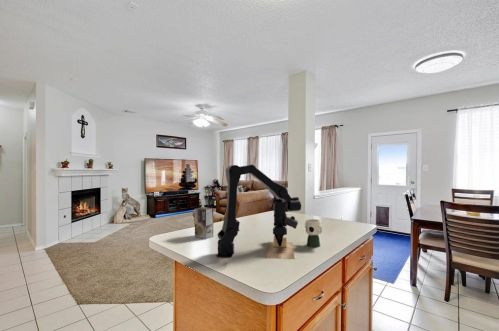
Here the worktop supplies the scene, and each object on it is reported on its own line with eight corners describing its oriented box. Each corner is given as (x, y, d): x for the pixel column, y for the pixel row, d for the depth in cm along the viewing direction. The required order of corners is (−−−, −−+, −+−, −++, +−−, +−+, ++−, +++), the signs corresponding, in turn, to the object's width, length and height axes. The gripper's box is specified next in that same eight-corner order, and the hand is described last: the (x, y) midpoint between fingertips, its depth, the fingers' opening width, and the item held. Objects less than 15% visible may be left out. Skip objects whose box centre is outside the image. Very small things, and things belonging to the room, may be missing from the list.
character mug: (300, 245, 112) (299, 219, 113) (310, 243, 116) (310, 217, 116) (316, 252, 103) (316, 223, 103) (327, 249, 106) (327, 221, 107)
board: (265, 260, 94) (265, 257, 94) (268, 243, 115) (268, 241, 115) (294, 261, 92) (294, 259, 92) (292, 244, 114) (292, 242, 114)
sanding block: (273, 246, 107) (273, 238, 107) (274, 244, 111) (273, 235, 111) (286, 247, 106) (286, 238, 106) (286, 244, 110) (286, 236, 110)
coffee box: (213, 236, 129) (213, 208, 129) (206, 239, 123) (206, 209, 124) (202, 234, 133) (202, 206, 134) (194, 236, 128) (194, 208, 129)
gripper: (298, 216, 99) (298, 252, 98) (295, 209, 117) (295, 239, 117) (272, 215, 100) (272, 251, 100) (274, 208, 119) (274, 238, 118)
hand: (280, 244), depth 109 cm, fingers closed on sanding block, 4 cm apart
